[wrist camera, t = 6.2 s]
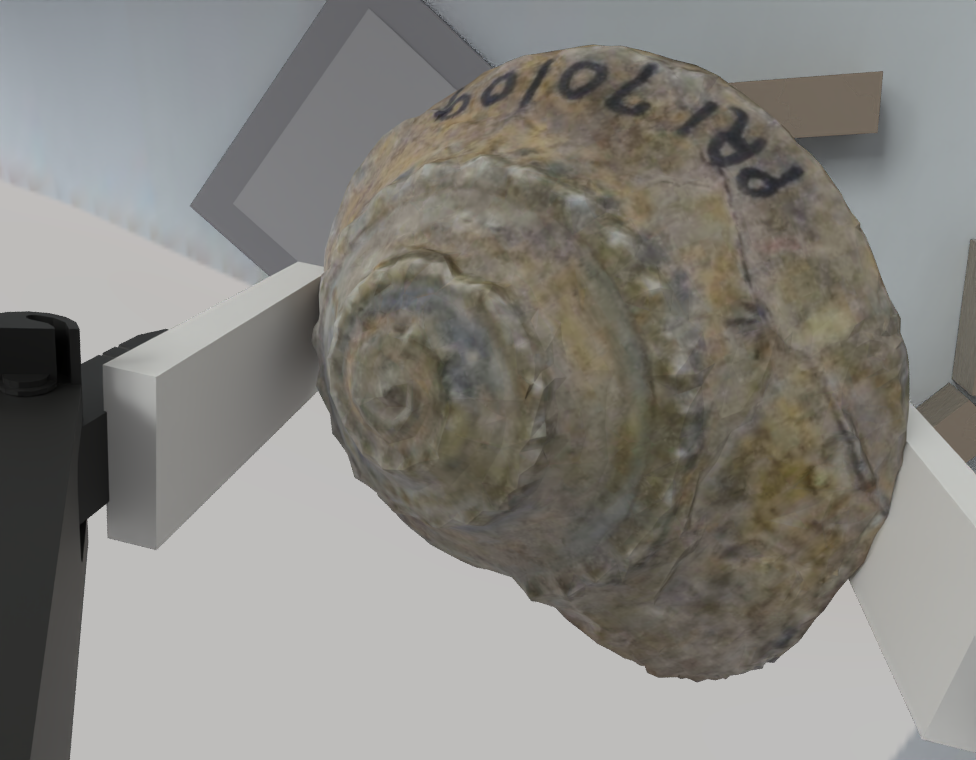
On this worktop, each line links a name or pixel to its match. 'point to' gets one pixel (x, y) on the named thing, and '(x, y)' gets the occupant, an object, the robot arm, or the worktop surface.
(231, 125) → the worktop surface
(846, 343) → the fossilized seashell
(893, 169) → the worktop surface
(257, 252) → the mat
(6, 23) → the worktop surface
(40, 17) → the worktop surface
